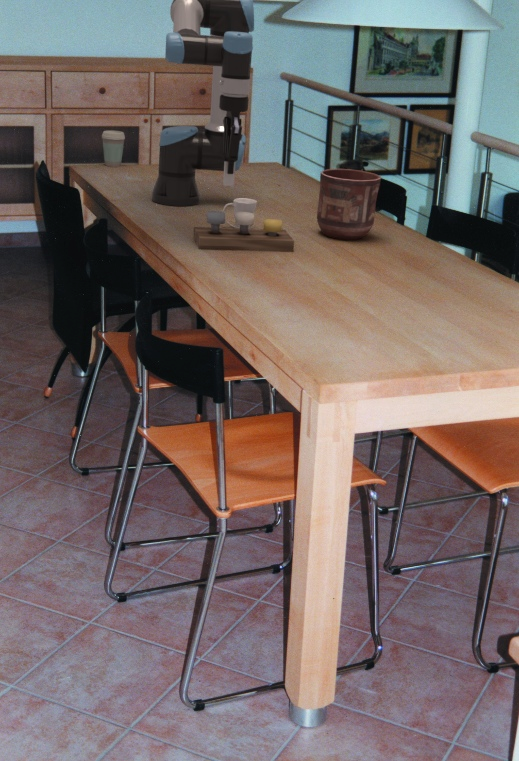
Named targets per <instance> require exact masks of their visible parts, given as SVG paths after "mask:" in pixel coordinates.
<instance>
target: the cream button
mask: <svg viewBox="0 0 519 761" xmlns="http://www.w3.org/2000/svg"><path fill="white" fill-rule="evenodd" d="M254 221H255V214H253V213H249V212H237V213H236V221H235V222H234V223H235V225H237V224H239V225H240V231H239V233H242V234H248V228H249V225H250V226H252V225H254V224H255V222H254Z"/></svg>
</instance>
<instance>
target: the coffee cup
mask: <svg viewBox="0 0 519 761" xmlns="http://www.w3.org/2000/svg"><path fill="white" fill-rule="evenodd" d="M101 139H102V147H103V148H102V149H103V160H104V166H106V167H111V168H117V167H121V166H122V158H123V152H124V151H123V150H124V144H125V139H126V136H125V133H124V132H123V131H120V130H104V131H103V132H102V134H101Z"/></svg>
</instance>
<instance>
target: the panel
mask: <svg viewBox="0 0 519 761" xmlns="http://www.w3.org/2000/svg"><path fill="white" fill-rule="evenodd" d="M239 231H240V228H234V227H220V231H219V233H212V232H211V226H210V227H205V226H204V227H203V226H194V227H193V240H194V241H195V244H196V245H197V246H196V247H198V249H199V250H218V251H219V250H220V251H221V250H223V251H225V250H226V251H229V250H230V251H257V252H258V251H259V252H260V251H262V252H263V251H265V252H271V251H272V252H294V250H295V239H293V238H292V237H291V235H290V234H289V233H288V231H287V230H286V229H282V230H281V232H277V233H276V236H268V231H265V230H263V228H250V229H248V234H242V233H239Z"/></svg>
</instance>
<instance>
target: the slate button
mask: <svg viewBox="0 0 519 761" xmlns="http://www.w3.org/2000/svg"><path fill="white" fill-rule="evenodd" d="M225 219H226V212H225V211H224V212H223V211H220V210H210V211H207V212H206V223H208V224H210V227H211V232H212V233H219V231H220V228H221V225H224V224H225V223H226V221H225Z"/></svg>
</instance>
